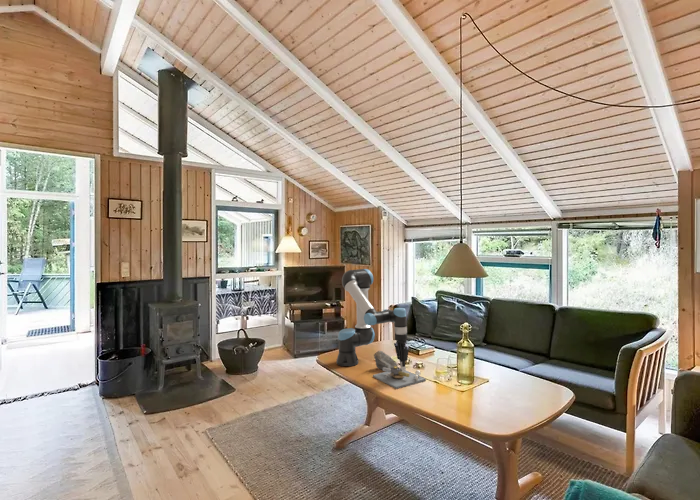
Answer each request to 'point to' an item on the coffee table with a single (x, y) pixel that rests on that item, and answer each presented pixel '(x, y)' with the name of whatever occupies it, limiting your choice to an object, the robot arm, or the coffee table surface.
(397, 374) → the cam capstan
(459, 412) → the coffee table surface
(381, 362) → the rock
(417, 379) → the stand board
